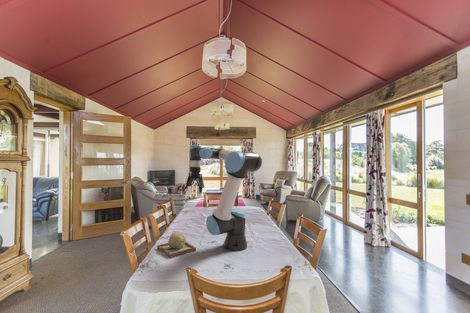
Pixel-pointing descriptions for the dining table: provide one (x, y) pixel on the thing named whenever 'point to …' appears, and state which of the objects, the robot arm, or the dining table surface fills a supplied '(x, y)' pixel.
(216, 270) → the dining table surface
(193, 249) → the base
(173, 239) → the coral
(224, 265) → the dining table surface
